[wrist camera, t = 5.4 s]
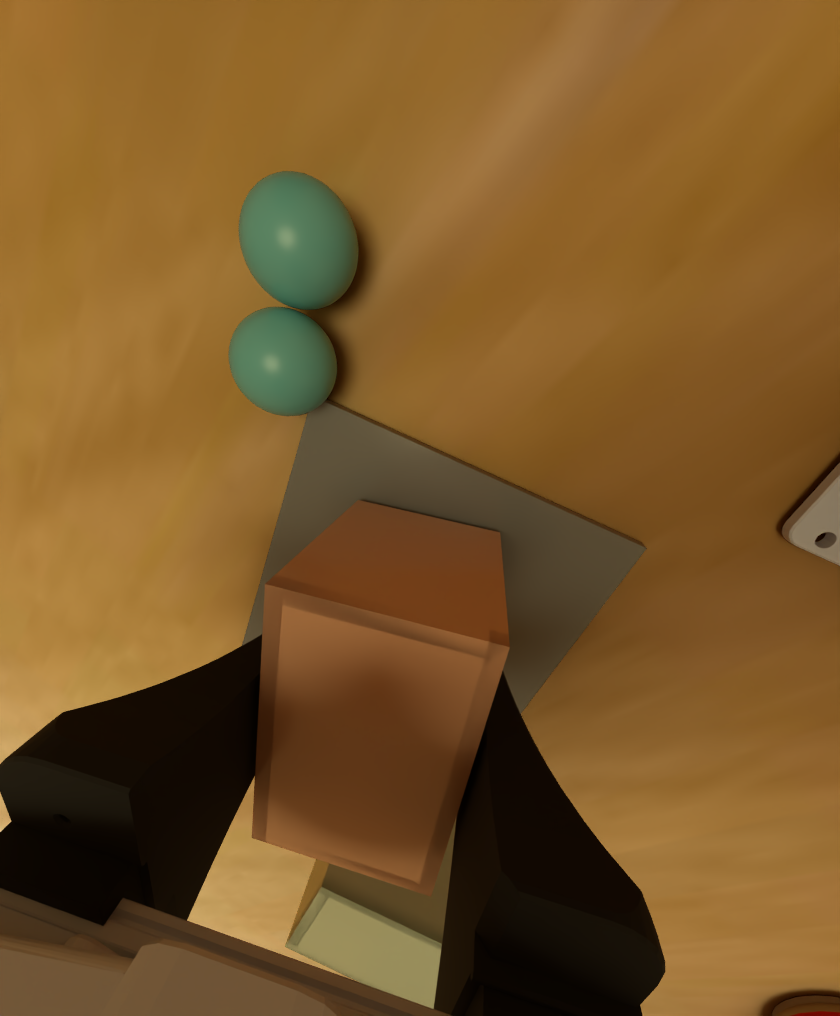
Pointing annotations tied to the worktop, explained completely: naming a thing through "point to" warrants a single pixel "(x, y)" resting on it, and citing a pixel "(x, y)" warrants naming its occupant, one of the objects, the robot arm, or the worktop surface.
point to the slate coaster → (463, 499)
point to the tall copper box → (377, 690)
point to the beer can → (809, 1006)
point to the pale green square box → (374, 929)
